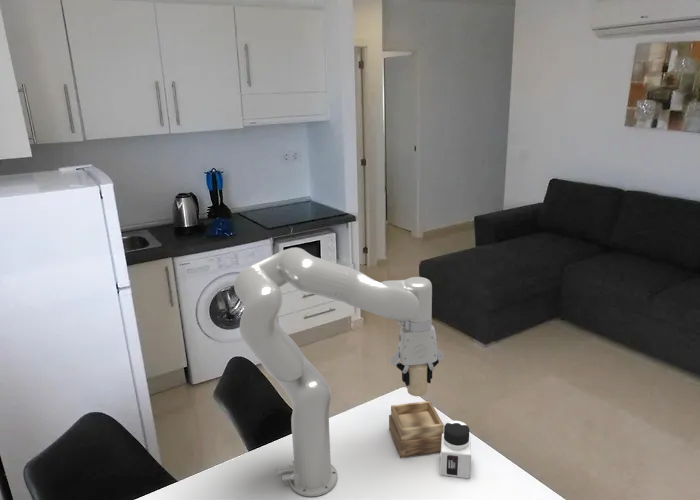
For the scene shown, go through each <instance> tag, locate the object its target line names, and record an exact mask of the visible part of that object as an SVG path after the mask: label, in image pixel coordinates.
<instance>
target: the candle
mask: <svg viewBox="0 0 700 500" xmlns="http://www.w3.org/2000/svg"><path fill="white" fill-rule="evenodd" d="M408 373H409V385H408V386H406V387H407V388H406V389H407V390H406V391H407V393H408V394H409V395H411V396H413V397H423V396H425V395H426V394H427V392H428V382H427V364H420V365H411V366H409V368H408Z"/></svg>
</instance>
